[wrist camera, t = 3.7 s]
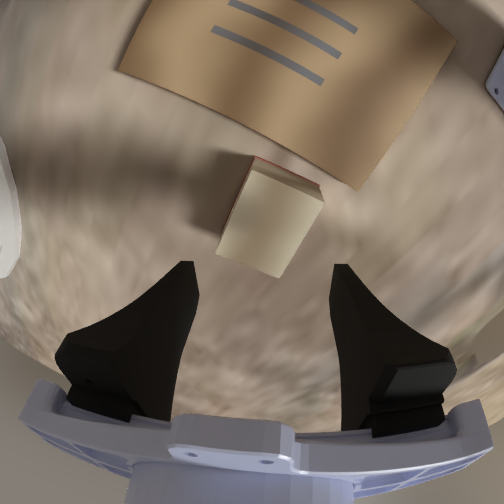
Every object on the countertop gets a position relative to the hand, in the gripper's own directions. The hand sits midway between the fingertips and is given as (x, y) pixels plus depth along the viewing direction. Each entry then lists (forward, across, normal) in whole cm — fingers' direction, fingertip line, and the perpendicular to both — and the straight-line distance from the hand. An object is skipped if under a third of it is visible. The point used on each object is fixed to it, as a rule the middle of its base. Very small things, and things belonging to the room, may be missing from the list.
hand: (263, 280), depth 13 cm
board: (+8, -2, -12) cm, 14 cm away
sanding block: (+8, 0, 0) cm, 8 cm away
